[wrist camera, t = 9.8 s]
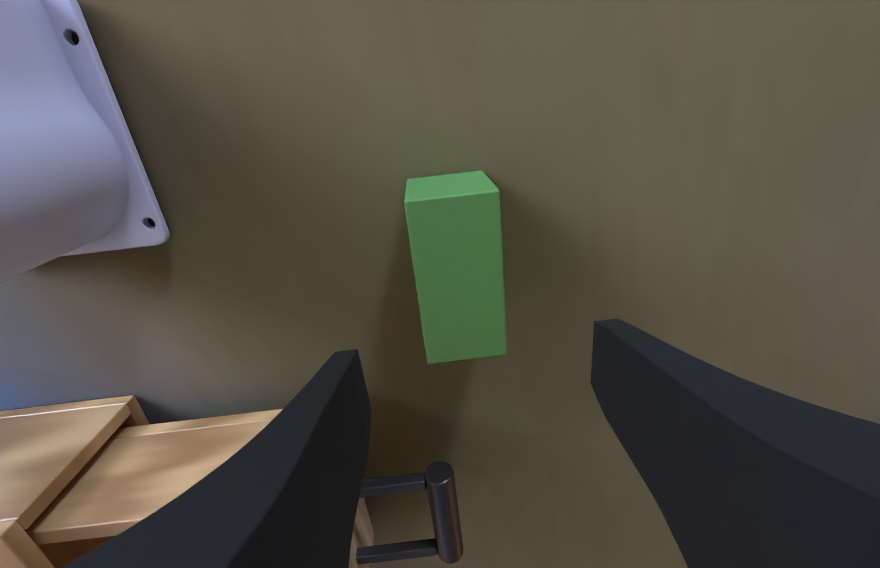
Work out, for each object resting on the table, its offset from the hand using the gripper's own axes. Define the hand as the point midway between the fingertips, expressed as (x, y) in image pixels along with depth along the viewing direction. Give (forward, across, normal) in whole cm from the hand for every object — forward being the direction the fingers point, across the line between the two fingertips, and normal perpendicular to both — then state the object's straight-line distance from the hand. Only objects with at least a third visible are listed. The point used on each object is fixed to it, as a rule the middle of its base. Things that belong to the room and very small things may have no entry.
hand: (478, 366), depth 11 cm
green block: (+9, 0, 0) cm, 9 cm away
